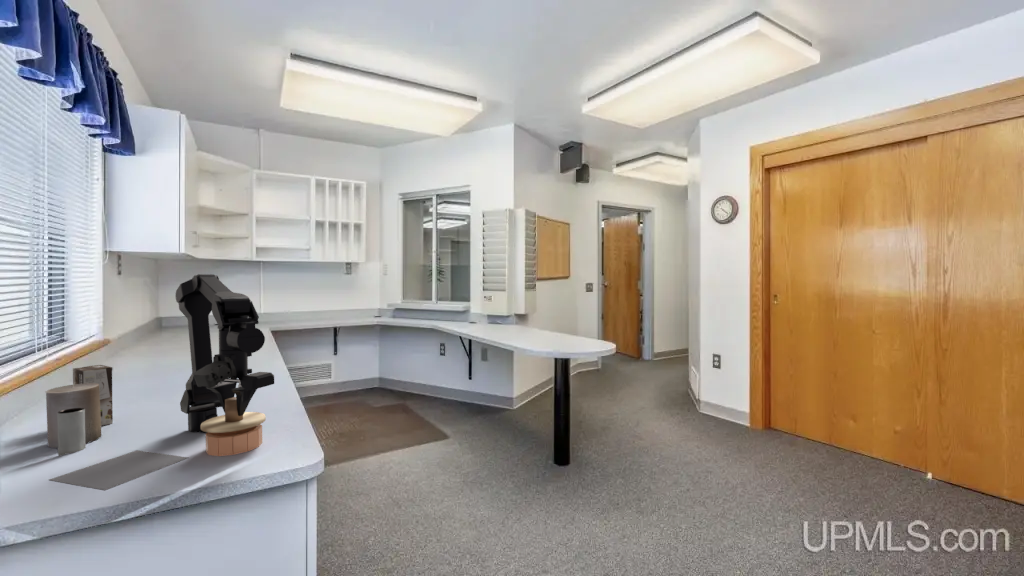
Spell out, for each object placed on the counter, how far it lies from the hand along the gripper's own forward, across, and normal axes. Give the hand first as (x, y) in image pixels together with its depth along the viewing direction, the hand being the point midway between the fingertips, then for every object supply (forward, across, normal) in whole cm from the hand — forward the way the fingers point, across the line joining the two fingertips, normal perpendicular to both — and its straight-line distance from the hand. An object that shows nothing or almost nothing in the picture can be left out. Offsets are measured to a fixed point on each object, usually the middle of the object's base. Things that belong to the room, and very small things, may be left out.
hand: (234, 414), depth 105 cm
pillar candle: (+9, -45, -6) cm, 46 cm away
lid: (+2, 0, 0) cm, 2 cm away
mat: (+8, -12, -16) cm, 22 cm away
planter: (+9, -35, -12) cm, 38 cm away
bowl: (+8, 0, 0) cm, 9 cm away
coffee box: (+9, -57, +5) cm, 58 cm away
